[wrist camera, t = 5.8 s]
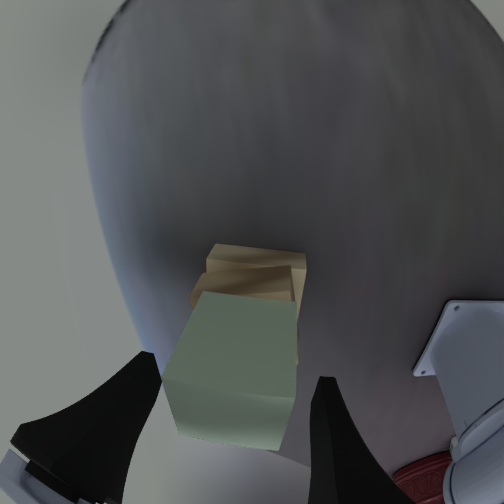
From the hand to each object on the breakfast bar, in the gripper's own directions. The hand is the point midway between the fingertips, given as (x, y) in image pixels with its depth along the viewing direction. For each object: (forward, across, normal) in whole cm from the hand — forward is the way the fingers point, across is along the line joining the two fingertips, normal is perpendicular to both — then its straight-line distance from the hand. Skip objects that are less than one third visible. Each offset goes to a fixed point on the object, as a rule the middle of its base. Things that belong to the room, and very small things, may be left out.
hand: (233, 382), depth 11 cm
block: (+3, 0, 0) cm, 3 cm away
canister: (+8, -32, +37) cm, 50 cm away
